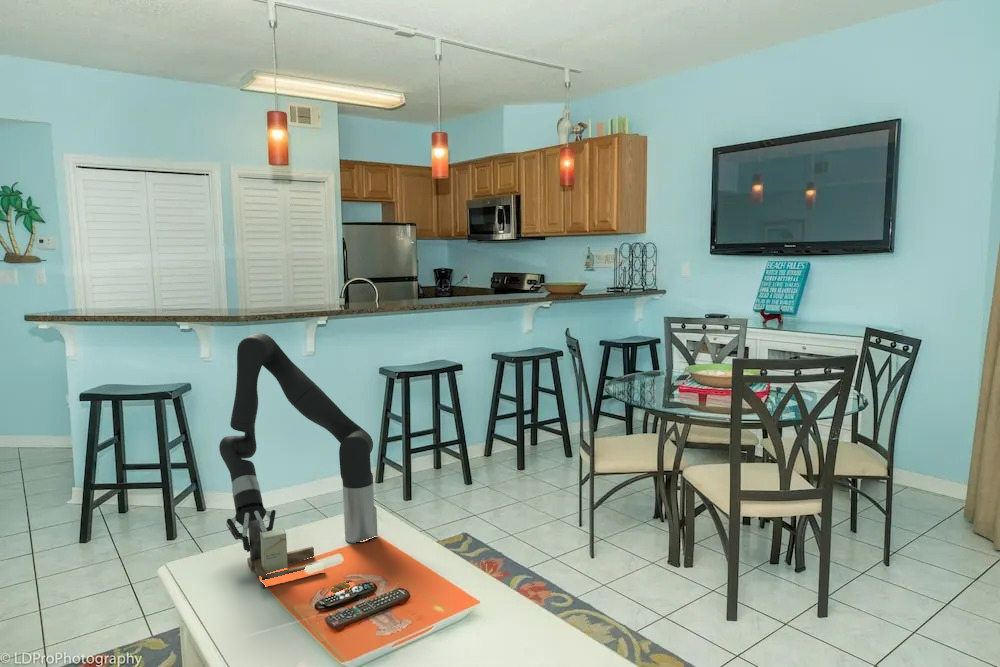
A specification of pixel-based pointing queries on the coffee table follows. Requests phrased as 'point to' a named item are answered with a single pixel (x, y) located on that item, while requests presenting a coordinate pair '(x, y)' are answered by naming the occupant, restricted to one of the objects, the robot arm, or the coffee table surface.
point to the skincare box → (273, 550)
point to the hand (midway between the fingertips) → (257, 548)
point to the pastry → (341, 586)
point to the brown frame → (255, 554)
